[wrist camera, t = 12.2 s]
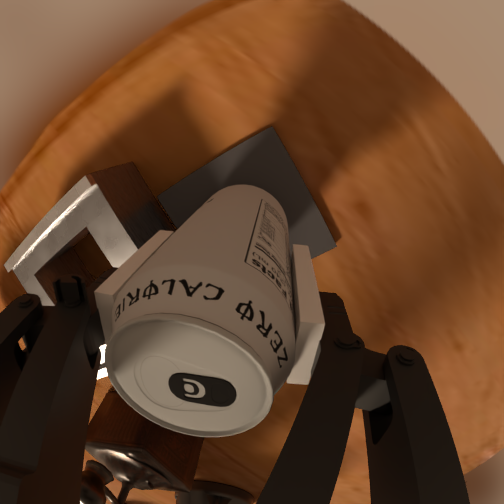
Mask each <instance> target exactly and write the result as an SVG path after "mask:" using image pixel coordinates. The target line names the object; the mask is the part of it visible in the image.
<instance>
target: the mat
mask: <svg viewBox="0 0 504 504" xmlns="http://www.w3.org/2000/svg"><path fill="white" fill-rule="evenodd" d="M233 185H251V186H255V187H258V188H261V189H263V190H265V191H266V192H268V193H269V194H271V195H272V196H273V197H274V198H275V199H276V200H277V201H278V202H279V204H280V205H281V207H282V208H283V210H284V213H285V215H286V219H287V223H288V234H289V247H290V260H291V255H292V248H293V244H297V245H306V246H308V247H309V251H310V256H311V259H312V258H314V257H316V256H319V255H321V254H323V253H325V252H327V251H329V250H331V249H333V248H335V247H337V245H336V243H335V241H334V239H333V237H332V235H331V233H330V231H329V229H328V227H327V225H326V223H325V221H324V219H323V217H322V215H321V213H320V211H319V209H318V207H317V206H316V204H315V202H314V200H313V198H312V196H311V194H310V192H309V190H308V188H307V187H306V185H305V183H304V181H303V179H302V177H301V176H300V174H299V172H298V170H297V168H296V167H295V165H294V163H293V161H292V159H291V158H290V156H289V154H288V152H287V151H286V149H285V147H284V145H283V144H282V142H281V140H280V138H279V137H278V135H277V133H276V132H275V130H274V128H273V127H272V126H271V127H270V128H268V129H266V130H264V131H262V132H260V133H259V134H257V135H255V136H253V137H251V138H250V139H248V140H246V141H244V142H243V143H241V144H239V145H238V146H236V147H234V148H232V149H231V150H229V151H227V152H226V153H224V154H222V155H221V156H219V157H217V158H216V159H214V160H212V161H211V162H209V163H208V164H206V165H204V166H203V167H201V168H200V169H198V170H196V171H195V172H193V173H192V174H190V175H189V176H187V177H185V178H184V179H182V180H181V181H179V182H178V183H176V184H175V185H173V186H172V187H170V188H169V189H167V190H166V191H164V192H163V193H161V194H160V195H158V196H157V198H158V199H159V201H160V203H161V204H162V206H163V207H164V209H165V210H166V212H167V214H168V215H169V217H170V218H171V220H172V221H173V223H174V224H175V226H176V228H177V229H179V228H180V227H181V226H182V225H183V224H184V223H185V222H186V221H187V220H188V219H189V218H190V217H191V216H192V215H193V214H194V213H195V212H196V211H197V210H198V209H199V208H200V207H201V206H202V205H203V204H204V203H205V202H206V201H207V200H208V199H209V198H210V197H211V196H212V195H214V194H215V193H217V192H218V191H219V190H221V189H224V188H226V187H229V186H233Z"/></svg>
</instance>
